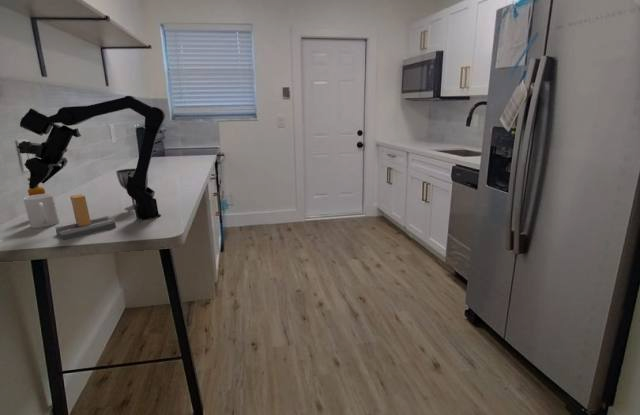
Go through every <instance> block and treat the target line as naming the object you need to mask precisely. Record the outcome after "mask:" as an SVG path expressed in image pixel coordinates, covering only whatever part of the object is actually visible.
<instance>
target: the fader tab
mask: <svg viewBox="0 0 640 415" xmlns="http://www.w3.org/2000/svg"><path fill="white" fill-rule="evenodd" d="M69 197H70V201H71V207H72V210H73V214H74V219H75V223H76V224H75V225H76V227H78V228H79V227H83V226H85V225H92V223H91V221H90V220H91V218H90V213H89V209H88V204H87V199H86V196H85V195H83V194H80V193H79V194H74V195H70V196H69Z"/></svg>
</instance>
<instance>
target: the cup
mask: <svg viewBox="0 0 640 415" xmlns="http://www.w3.org/2000/svg"><path fill="white" fill-rule="evenodd" d="M22 201H23V202H24V203H23V204H24V206H25V210H26V213H27V214H26V215H27V218H28V222H29V225H30V227H31V228H34V229H41V228H48V227H53V226H55V225H57V224H59V223H60V217H59V214H58V213H59V212H58V209H57V206H56V200H55V197H54V194H52V193H45V194H38V195H32V196H29V195H28V196H26V197H23V200H22Z"/></svg>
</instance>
